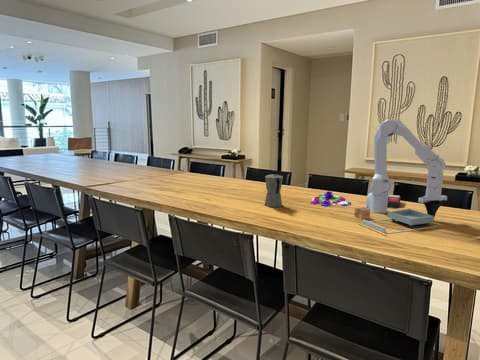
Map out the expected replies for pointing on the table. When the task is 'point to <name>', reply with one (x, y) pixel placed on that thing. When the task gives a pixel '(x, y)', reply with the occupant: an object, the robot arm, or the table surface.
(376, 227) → the track
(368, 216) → the block
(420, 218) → the light blue storage bin
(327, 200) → the colorful gemstone pile
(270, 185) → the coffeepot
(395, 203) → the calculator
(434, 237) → the table surface
